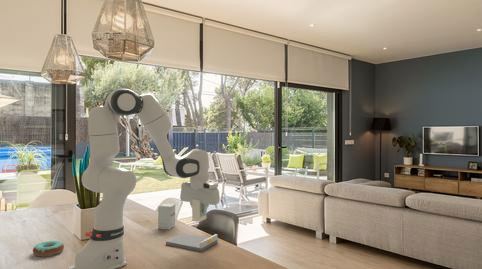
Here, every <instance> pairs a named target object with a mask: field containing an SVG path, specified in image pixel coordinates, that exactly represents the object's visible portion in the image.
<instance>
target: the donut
mask: <svg viewBox="0 0 482 269" xmlns="http://www.w3.org/2000/svg"><path fill="white" fill-rule="evenodd" d="M64 248H65V245H64V243H63V242H62V241H57V240H49V241H43V242H40V243H37V244H36V245H34V246H33V248H32V253H33V255H34V256H36V257H40V258H44V257H45V258H46V257H47V258H48V257H51V256H52V257H53V256H56V255H58V254H59V253H61V252H63V250H64Z"/></svg>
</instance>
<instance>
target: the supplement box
mask: <svg viewBox="0 0 482 269" xmlns="http://www.w3.org/2000/svg"><path fill="white" fill-rule="evenodd" d="M157 211H158V212H157V215H158V216H157V219H158V220H157V229H159V230H171V229H172V228H174V227H175V226H176V204H175V203H162V204H160V205H158V209H157Z"/></svg>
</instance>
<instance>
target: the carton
mask: <svg viewBox="0 0 482 269" xmlns="http://www.w3.org/2000/svg"><path fill="white" fill-rule="evenodd" d="M204 208H205V206H204V204H202V203H201V200H197V199H192V207H191V214H192V216H191V220H192V222H198V223H200V222H202V221H204V220H206V219H207V213H202V209H204Z"/></svg>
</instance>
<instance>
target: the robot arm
mask: <svg viewBox="0 0 482 269" xmlns="http://www.w3.org/2000/svg"><path fill="white" fill-rule="evenodd" d="M104 98H105V99H104V101H103V103H102V105H99V106H95V107H93V108H91V109H90V110H89V113H88V120H87V124H88V125H87V127H88V128H87V130H88V131H87V132H88V139H89V151H90V152H89V153H90V155H89V162H88V165H87V168H86V169H85V170H84V172H82V175H81V184H82V186H83V187H84V188H85V189H87V190H89V191H91V192H94V193H99V194H102V198H101V201H100V203H98V205H97V206H95V208H94V211H93V228H92V231H89V230H86V231H85V233H84V236H85V237H89V240H88V241H87V242H86V243H85V244H84V245H83V246H82V247H81V248H80V249H79V251H77V253H76V255H75V257H74V258H75V259H74V264H72V265H70V266H69V267H68V269H118V268H121V267H124V266H126V265H127V263H128V262H127V259H128V258H127V255H126V250H125V243H124V234H125V228H124V226H125V225H124V224H123V222H124V207H125V203H126V200H127V198H128V196H129V195H130V194H131V193H132V192H133V191H134V190H135V188H136V186H137V176H136V174H135V173H134V171H132V170H129V169H128V168H124V167H116V166H115V167H114V161H115V160H114V159H115V157H116V156H118V154H119V153H120V150H121V147H120V140H119V138H120V137H119V130H118V122H119V119H120V117H121V116H131V115H135V116H137V118H138V119H139V120H140V122H141V124H142V126H143V127H144V129H145V130H146V132H147V134H148V135H149V137H150V139H151V140H152V143H153V145H154V146H155V148H156V150H157V152H158V154H159V156H160V158H161V163H162V168H163V171H164V173H165V174H166V175H168V176H169V177H176V178H180V179H187V178H189V182H187V181H184V182H182V183H181V185H180V186H181V187H180V188H181V189H180V197H179V198H180V201H181V202H187V203H189V205H190V208H192V199H197V200H201V203H202V204H204V206H205V208H204V209H202V213H206V214H207V212H208V211H207V210H208V208H209V206H210V205H212V206H216V205H218V204H219V203H220V199H221V198H220V191H219V189H218V187H219V183H218V182H216V181H214V180H212V179H210V176H209V168H210V160H209V154H208V151H206V150H205V149H199V148H193V149H191V150H190V151H189V152H187V153H186V154H184V155H182V156H179V155H178V154H176V152H174V150H173V148H172V146H171V144H170V142H169V139H168V134H169V132H170V131H171V127H172V124H171V121H170V117H169V116H168V114H167V112H166V111H165V108H164V107H163V106H162V104H161V102H160V101H159V100H158V99H157V97H156V96H154V95H153V94H152V93H144V94H138V93H136V92H135V91H134V90H132V89H128V88H124V87H119V88H115V89H112V90H111V91H110V92H108V94H107V95H106V96H105V97H104Z"/></svg>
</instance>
